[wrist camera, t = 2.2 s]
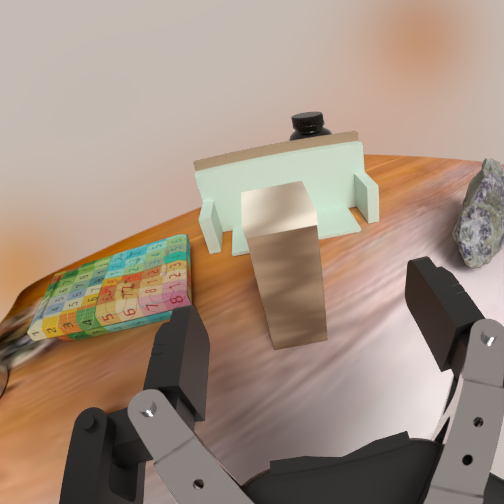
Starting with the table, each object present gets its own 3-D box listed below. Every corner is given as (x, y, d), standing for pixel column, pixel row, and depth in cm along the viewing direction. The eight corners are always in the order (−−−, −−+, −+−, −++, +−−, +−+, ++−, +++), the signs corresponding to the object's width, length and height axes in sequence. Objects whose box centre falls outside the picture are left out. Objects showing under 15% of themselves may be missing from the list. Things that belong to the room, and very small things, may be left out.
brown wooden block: (274, 350, 26) (241, 225, 20) (269, 309, 30) (241, 192, 24) (328, 340, 26) (316, 210, 19) (317, 300, 30) (301, 180, 24)
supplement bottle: (332, 174, 54) (323, 108, 48) (343, 189, 49) (335, 114, 42) (294, 181, 55) (282, 114, 48) (301, 197, 49) (288, 121, 43)
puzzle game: (184, 286, 29) (22, 327, 28) (199, 322, 31) (44, 355, 31) (184, 227, 39) (51, 269, 38) (196, 259, 41) (67, 295, 40)
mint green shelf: (209, 260, 40) (184, 185, 34) (213, 226, 47) (194, 161, 41) (383, 227, 38) (381, 148, 32) (361, 198, 45) (355, 131, 40)
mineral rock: (466, 285, 27) (483, 192, 21) (409, 234, 36) (410, 154, 30) (530, 248, 27) (546, 171, 22) (476, 210, 36) (482, 141, 31)
